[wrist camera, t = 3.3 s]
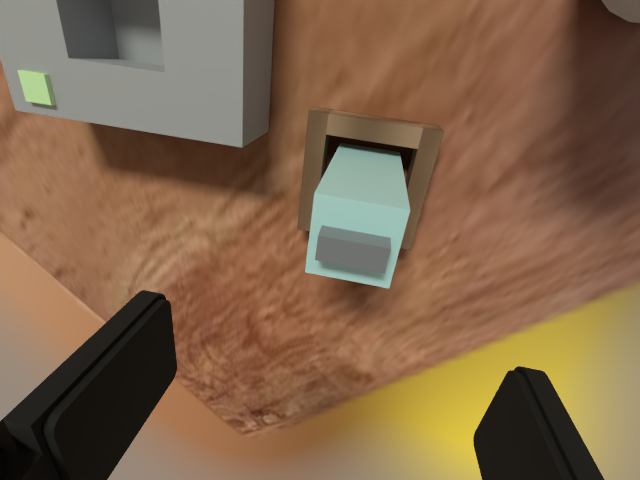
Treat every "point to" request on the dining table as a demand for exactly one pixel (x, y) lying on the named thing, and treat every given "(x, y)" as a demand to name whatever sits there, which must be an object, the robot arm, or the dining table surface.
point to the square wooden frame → (372, 130)
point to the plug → (359, 216)
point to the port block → (144, 64)
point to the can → (624, 9)
